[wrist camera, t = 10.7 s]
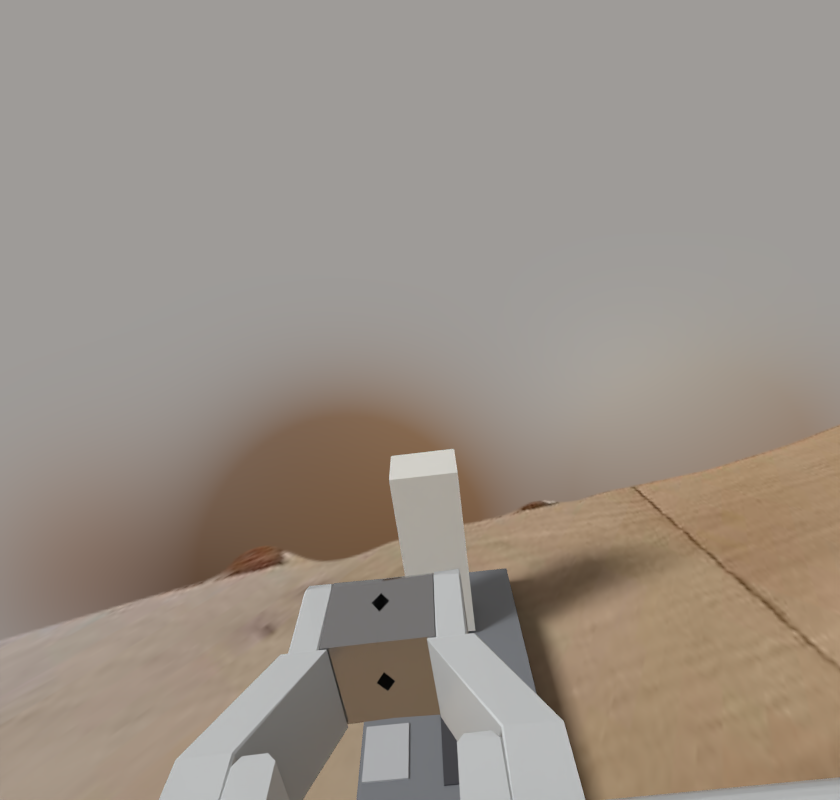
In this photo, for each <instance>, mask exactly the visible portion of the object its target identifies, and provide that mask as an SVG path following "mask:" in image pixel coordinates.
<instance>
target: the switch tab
mask: <svg viewBox="0 0 840 800" xmlns="http://www.w3.org/2000/svg"><path fill="white" fill-rule="evenodd" d="M389 483H390V489H391V495H392V501H393V507H394V513H395V518H396V525H397V530H398V536H399V542H400V548H401V554H402V560H403V566H404V572H405V576H411V575H419V574H427V573H434V572H438V571H445V570H452V569H459V570H460V574H461V582H462V589H463V596H464V604H465V611H466V618H467V625H468V631H475V623H474V614H473V605H472V596H471V587H470V579H469V570H468V561H467V552H466V543H465V534H464V526H463V517H462V509H461V499H460V491H459V482H458V473H457V466H456V459H455V453H454V449H448V450H440V451H431V452H423V453H414V454H406V455H397V456H391V464H390V476H389Z"/></svg>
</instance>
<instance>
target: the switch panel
mask: <svg viewBox="0 0 840 800" xmlns="http://www.w3.org/2000/svg"><path fill="white" fill-rule="evenodd" d="M469 579H470V587H471V596H472V605H473V614H474V623H475V631H468V633H469V634H470V633H476V634H477V635H478V636H479V637H480V638H481V639H482V640H483V641H484V642H485V643H486V644H487V645H488V646H489V647H490V648H491V649H492V650H493V651H494V652H495V653H496V654H497V655H498V656H499V657H500V658H501V659H502V660H503V661H504V662H505V663H506V664H507V665H508V666H509V667H510V668H511V669H512V670H513V671H514V672H515V673H516V674H517V675H518V676H519V677H520V678H521V679H522V680H523V681H524V682H525V683H526V684H527V685H528V686H529V687H530V688H531V689H532V690H533V691H534V692H535V693H536V690H535V685H534V681H533V677H532V673H531V669H530V665H529V661H528V656H527V652H526V648H525V644H524V640H523V636H522V632H521V627H520V623H519V619H518V615H517V611H516V607H515V603H514V598H513V594H512V590H511V586H510V582H509V578H508V574H507V570H506V569H497V570H487V571H478V572H469ZM357 800H460V787H459V770H458V752H457V740H456V739H455V737H454V736H453V734H452V733H451V731H450V730H449V728H448V727H447V725H446V724H445V722H444V721H443V719H442V718H441V715H427V716H414V717H401V718H390V719H383V720H375V721H368V722H364V728H363V739H362V749H361V760H360V770H359V781H358V791H357Z"/></svg>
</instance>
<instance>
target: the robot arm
mask: <svg viewBox="0 0 840 800" xmlns="http://www.w3.org/2000/svg"><path fill="white" fill-rule="evenodd" d="M427 715H441V718H442V719H443V721H444V722H445V724H446V725H447V727H448V728H449V730H450V731H451V733H452V734H453V736H454V737H455V739H456V740H457V752H458V770H459V787H460V800H585V797H584V793H583V789H582V786H581V782H580V778H579V775H578V771H577V768H576V764H575V760H574V757H573V753H572V749H571V746H570V742H569V738H568V735H567V731H566V728H565V724H564V721H563V720H562V719H561V718H560V717H559V716H558V715H557V714H556V713H555V712H554V711H553V710H552V709H551V708H550V707H549V706H548V705H547V704H546V703H545V702H544V701H543V700H542V699H541V698H540V697H539V696H538V695H537V694H536V693H535V692H534V691H533V690H532V689H531V688H530V687H529V686H528V685H527V684H526V683H525V682H524V681H523V680H522V679H521V678H520V677H519V676H518V675H517V674H516V673H515V672H514V671H513V670H512V669H511V668H510V667H509V666H508V665H507V664H506V663H505V662H504V661H503V660H502V659H501V658H500V657H499V656H498V655H497V654H496V653H495V652H494V651H493V650H492V649H491V648H490V647H489V646H488V645H487V644H486V643H485V642H484V641H483V640H482V639H481V638H480V637H479V636H478V635H477V634H476V633H470V634H469V633H468V625H467V618H466V611H465V604H464V596H463V589H462V582H461V574H460V570H459V569H452V570H445V571H438V572H434V573H427V574H419V575H411V576H403V577H395V578H387V579H376V580H365V581H354V582H344V583H334V584H327V585H316V586H309V587H308V589H307V590H306V591H305V593H304V597H303V601H302V605H301V608H300V612H299V616H298V619H297V623H296V627H295V630H294V634H293V638H292V641H291V645H290V649H289V652H288V654H282V655H280V656H279V657H278V658H277V659H276V660H275V661H274V662H273V663H272V664H271V665H270V666H269V667H268V668H267V669H266V670H265V671H264V672H263V673H262V674H261V675H260V676H259V677H258V678H257V679H256V680H255V681H254V682H253V683H252V684H251V685H250V686H249V687H248V688H247V689H246V690H245V691H244V692H243V693H242V694H241V695H240V696H239V697H238V698H237V699H236V700H235V701H234V702H233V703H232V704H231V705H230V706H229V707H228V708H227V709H226V710H225V711H224V712H223V713H222V714H221V715H220V716H219V717H218V718H217V719H216V720H215V721H214V722H213V723H212V724H211V725H210V726H209V727H208V728H207V729H206V730H205V731H204V732H203V733H202V734H201V735H200V736H199V737H198V738H197V739H196V740H195V741H194V742H193V743H192V744H191V745H190V746H189V747H188V748H187V749H186V750H185V751H184V752H183V753H182V754H181V755H180V756H179V757H178V758H177V759H176V760H175V763H174V765H173V767H172V770H171V772H170V775H169V777H168V779H167V782H166V784H165V787H164V789H163V791H162V794H161V796H160V799H159V800H303V798H304V797H305V795H306V794H307V792H308V790H309V789H310V787H311V786H312V784H313V782H314V781H315V779H316V778H317V776H318V774H319V773H320V771H321V770H322V768H323V767H324V765H325V763H326V762H327V760H328V759H329V757H330V755H331V754H332V752H333V751H334V749H335V747H336V746H337V744H338V743H339V741H340V739H341V738H342V736H343V735H344V733H345V731H346V730H347V728H348V725H347V724H353V723H360V722H368V721H375V720H383V719H390V718H401V717H414V716H427ZM607 800H840V777H838V778H828V779H817V780H807V781H796V782H786V783H775V784H765V785H754V786H744V787H733V788H723V789H712V790H702V791H691V792H681V793H670V794H660V795H649V796H639V797H628V798H618V799H607Z"/></svg>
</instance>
